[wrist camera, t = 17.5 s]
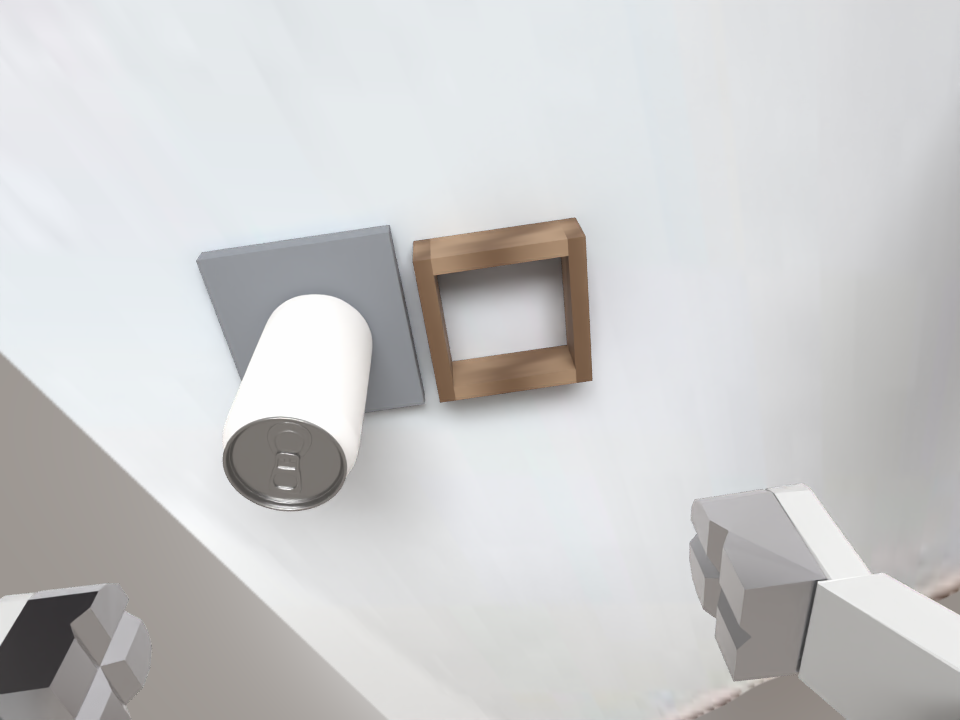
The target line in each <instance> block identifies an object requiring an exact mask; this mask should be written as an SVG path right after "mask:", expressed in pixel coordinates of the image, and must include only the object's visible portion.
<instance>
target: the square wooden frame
mask: <svg viewBox="0 0 960 720" xmlns="http://www.w3.org/2000/svg"><path fill="white" fill-rule="evenodd" d="M557 257H561V264H562V278H563V293H564V307H565V322H566V336H567V345H564V346H557V347H550V348H543V349H536V350H529V351H522V352H515V353H508V354H501V355H494V356H488V357H481V358H474V359H467V360H460V361H453V362H452V358H451V353H450V347H449V341H448V336H447V330H446V324H445V319H444V313H443V308H442V302H441V296H440V291H439V285H438V279H437V275H440V274H447V273H454V272H461V271H468V270H475V269H482V268H488V267H495V266H502V265H509V264H516V263H523V262H530V261H536V260H543V259H550V258H557ZM413 266H414V271H415V276H416V281H417V286H418V292H419V297H420V302H421V307H422V312H423V317H424V322H425V327H426V333H427V338H428V343H429V348H430V353H431V358H432V363H433V368H434V374H435V379H436V384H437V389H438V394H439V399H440V402H447V401H454V400H461V399H468V398H475V397H482V396H489V395H496V394H503V393H510V392H517V391H524V390H531V389H538V388H545V387H551V386H558V385H565V384H572V383H579V382H586V381H592V361H591V340H590V319H589V298H588V277H587V256H586V236H585V234H584V233H583V231H582V229H581V227H580V225H579V223H578V222H577V220H576V218H569V219H562V220H555V221H549V222H542V223H535V224H528V225H521V226H515V227H508V228H501V229H494V230H487V231H480V232H474V233H467V234H460V235H453V236H446V237H439V238H433V239H426V240H419V241H414V242H413Z"/></svg>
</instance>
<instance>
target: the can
mask: <svg viewBox="0 0 960 720" xmlns="http://www.w3.org/2000/svg"><path fill="white" fill-rule="evenodd" d="M371 356H372V335H371V332H370V329H369V326H368V324H367V322H366V321H365V319H364V318H363V317H362V315H361V314H360V313H359V312H358V311H357V310H356V309H355V308H353V307H352V306H351V305H349V304H348V303H346V302H345V301H343V300H341V299H339V298H336V297H333V296H328V295H320V294H309V295H301V296H297V297H294V298H292V299H289V300H287V301H286V302H284V303H282V304H281V305H280V306H279V307H278V308H276V310H275V311H274V312H273V313H272V315H271V316H270V318H269V319H268V321H267V324H266V326H265V328H264V330H263V332H262V335H261V337H260V339H259V342H258V344H257V346H256V349H255V351H254V354H253V356H252V358H251V361H250V363H249V365H248V368H247V370H246V373H245V375H244V377H243V380H242V382H241V385H240V387H239V389H238V392H237V394H236V397H235V399H234V402H233V404H232V406H231V409H230V411H229V414H228V417H227V419H226V422H225V426H224V430H223V448H224V453H223V467H224V471H225V474H226V476H227V478H228V480H229V482H230V483H231V485H232V486H233V487H234V488H235V489H236V490H237V491H238V492H239V493H240V494H241V495H242V496H244V497H245V498H247V499H248V500H250V501H252V502H254V503H256V504H258V505H260V506H263V507H266V508H269V509H274V510H280V511H301V510H307V509H311V508H314V507H317V506H319V505H321V504H323V503H325V502H327V501H328V500H330V499H331V498H332V497H334V496H335V495H336V494H337V493H338V491H339V490H340V489H341V487H342V486H343V484H344V482H345V479H346V476H347V475H348V474H349V473H350V471H351V470H352V468H353V466H354V464H355V462H356V459H357V456H358V451H359V446H360V440H361V433H362V426H363V418H364V411H365V403H366V396H367V388H368V381H369V373H370V365H371Z"/></svg>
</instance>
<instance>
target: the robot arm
mask: <svg viewBox="0 0 960 720" xmlns="http://www.w3.org/2000/svg"><path fill="white" fill-rule="evenodd" d="M691 521H692V524H693V526H694V528H695V530H696V533H697V534H696V536H695V537H694V538H693V539H692V540H691V541H690V543H689V561H690V567H691V574H692V579H693V583H694V586H695V589H696V593H697V595H698V598H699V600H700V603H701V605H702V608H703V609H704V610H705V611H706V612H708V613H709V614H710V615H712V616H713V617H715V618H716V627H715V639H716V641H717V644H718V646H719V648H720V651H721V653H722V655H723V658H724V660H725V662H726V665H727V667H728V669H729V672H730V674H731V676H732V679H733V681H742V680H751V679H760V678H769V677H778V676H786V675H796V674H799V676H798V678H799V679H800V680H801V681H803V682H804V683H805V684H806V685H807V686H808V687H809V688H811V689H812V690H813V691H814V692H815V693H816V694H818V695H819V696H820V697H821V698H823V700H825V701H826V702H827V703H828V704H829V705H830V706H831V707H833V708H834V709H835V710H836V711H837V712H838V713H840V714H841V715H842V716H843V717H844V718H845V719H846V720H960V615H958V614H957V613H955V612H953V611H951V610H950V609H948V608H946V607H944V606H943V605H941V604H939V603H937V602H935V601H934V600H932V599H930V598H928V597H926V596H925V595H923V594H921V593H919V592H917V591H916V590H914V589H912V588H910V587H908V586H907V585H905V584H903V583H901V582H899V581H898V580H896V579H894V578H892V577H890V576H889V575H887V574H885V573H876V574H872V573H871V572H870V570H869V569H868V568H867V566H866V565H865V563H864V562H863V561H862V559H861V558H860V557H859V555H858V554H857V552H856V551H855V550H854V548H853V547H852V545H851V544H850V543H849V541H848V540H847V538H846V537H845V536H844V534H843V533H842V532H841V530H840V529H839V527H838V526H837V525H836V523H835V522H834V520H833V519H832V518H831V516H830V515H829V513H828V512H827V511H826V509H825V508H824V507H823V505H822V504H821V502H820V501H819V500H818V498H817V497H816V495H815V494H814V493H813V491H812V490H811V488H810V487H808V486H806V485H805V484H803V483H800V484H793V485H787V486H780V487H773V488H767V489H765V490H764V489H760V490H753V491H746V492H740V493H733V494H727V495H720V496H714V497H707V498H700V499H695V500H694V502H693V504H692V508H691ZM128 601H129V598H128V597H127V595H126V594H125V592H124V591H123V590H122V588H121V586H120V585H119V584H114V583H113V584H112V583H106V584H98V585H88V586H80V587H71V588H62V589H54V590H45V591H39V592H34V593H25V594H16V595H8V596H4V597H3V598H1V599H0V720H131V717H130V714H129V711H128V709H127V706H126V704H127V703H128V702H129V701H130V700H131V699H132V698H133V697H134V696H135V695H136V694H137V693H138V692H139V691H140V690H141V689H142V688H143V686H144V684H145V681H146V678H147V675H148V672H149V669H150V662H151V650H152V645H151V641H150V637H149V632H148V630H147V629H146V626H145V625H144V623H143V621H142V620H141V619H139V618H137V617H136V616H134V615H132V614H130V613H128V612H126V611H125V608H126V606H127V603H128Z"/></svg>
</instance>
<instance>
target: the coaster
mask: <svg viewBox="0 0 960 720" xmlns="http://www.w3.org/2000/svg"><path fill="white" fill-rule="evenodd" d="M196 262H197V264H198V267H199V270H200V272H201V275H202V278H203V280H204V283H205V286H206V288H207V291H208V294H209V296H210V299H211V302H212V304H213V307H214V309H215V312H216V315H217V317H218V320H219V323H220V325H221V328H222V331H223V333H224V336H225V339H226V341H227V344H228V346H229V349H230V352H231V354H232V357H233V360H234V362H235V365H236V368H237V370H238V373H239V376H240V378H241V381H242V380H243V377H244V375H245V373H246V370H247V368H248V365H249V363H250V361H251V358H252V356H253V354H254V351H255V349H256V346H257V344H258V342H259V339H260V337H261V335H262V332H263V330H264V328H265V326H266V324H267V321H268V319H269V318H270V316H271V315H272V313H273V312H274V311H275V310H276V308H278V307H279V306H280V305H281V304H282V303H284V302H286V301H287V300H289V299H292V298H294V297H297V296H301V295H309V294H320V295H328V296H333V297H336V298H339V299H341V300H343V301H345V302H346V303H348V304H349V305H351V306H352V307H353V308H355V309H356V310H357V311H358V312H359V313H360V314H361V315H362V317H363V318H364V319H365V321H366V322H367V324H368V326H369V329H370V332H371V335H372V356H371V365H370V373H369V381H368V388H367V396H366V403H365V411H364V413H366V412H373V411H380V410H387V409H394V408H401V407H408V406H415V405H422V404H425V394H424V389H423V384H422V379H421V374H420V370H419V365H418V360H417V355H416V350H415V346H414V341H413V336H412V331H411V326H410V322H409V317H408V312H407V307H406V302H405V298H404V293H403V288H402V283H401V278H400V274H399V269H398V264H397V259H396V255H395V250H394V245H393V240H392V235H391V231H390V226H389V225H386V226H379V227H372V228H365V229H358V230H352V231H345V232H338V233H331V234H324V235H318V236H311V237H304V238H297V239H290V240H284V241H277V242H270V243H263V244H256V245H249V246H243V247H236V248H229V249H222V250H215V251H209V252H202V253H201V255H200V256H199V257H198V259H197V260H196Z"/></svg>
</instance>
